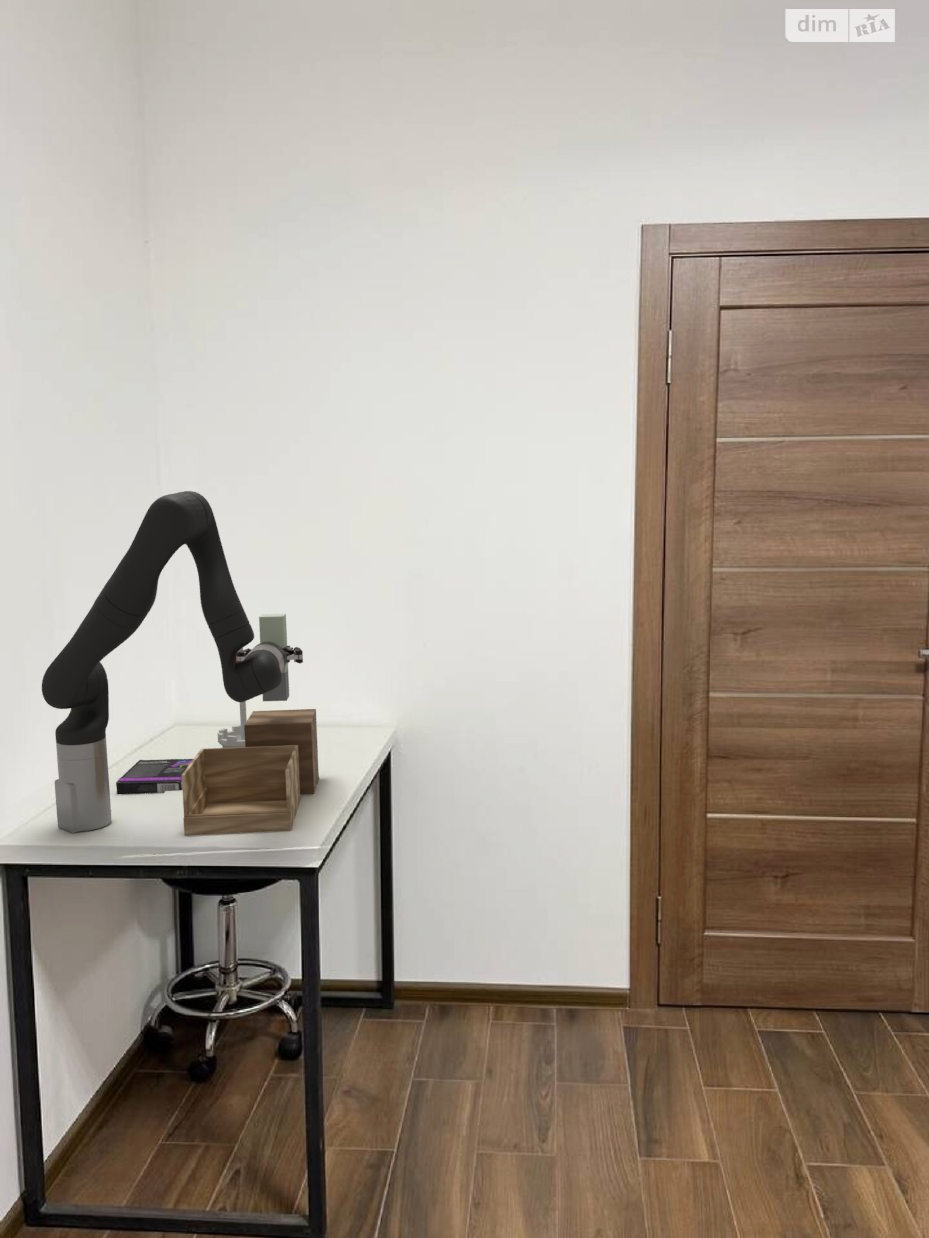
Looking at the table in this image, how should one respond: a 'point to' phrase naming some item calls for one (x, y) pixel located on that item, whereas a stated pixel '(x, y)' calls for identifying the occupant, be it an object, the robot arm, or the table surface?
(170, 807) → the table surface
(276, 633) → the box
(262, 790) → the wooden open bin
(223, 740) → the flag stand
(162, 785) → the box
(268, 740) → the riser
